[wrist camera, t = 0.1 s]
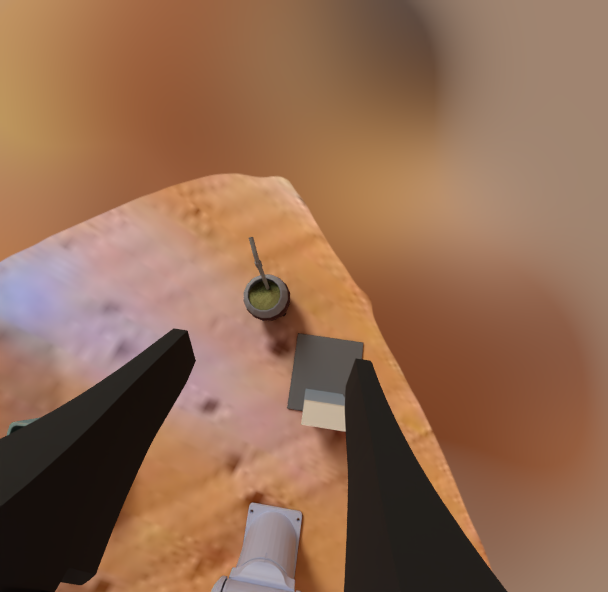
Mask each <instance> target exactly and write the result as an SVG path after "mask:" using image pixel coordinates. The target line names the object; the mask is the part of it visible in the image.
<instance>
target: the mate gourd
mask: <svg viewBox="0 0 608 592" xmlns="http://www.w3.org/2000/svg"><path fill="white" fill-rule="evenodd" d="M249 241H250V245H251V249H252V252H253V256H254V259H255V265H256V267H257V268H258V270H259V272H260V276H257V277H255V278H253V279H252V280H251V281H250V282H249V283H248V284H247V286H246V288H245V291H244V303H245V305H246V308H247V310H248V311H249V312H250V313H251V314H252V315H253V316H254V317H255V318H258V319H260V320H263V321H267V320H275V319H277V318H279V317H281V316H285V315H286V311H287V309H288V306H289V303H290V292H289V290H288V287H287V285H286V284H285V283H284V282H283V281H282V280H281V279H280V278H278V277H275V276H273V275H270V274H269V275H265V274H264V271H263V269H262V263H261V261H260V260H259V257H258V254H257V250H256V246H255V242H254V239H253V237H250V238H249Z"/></svg>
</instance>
